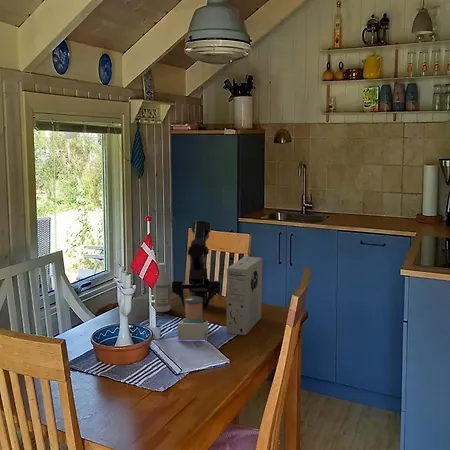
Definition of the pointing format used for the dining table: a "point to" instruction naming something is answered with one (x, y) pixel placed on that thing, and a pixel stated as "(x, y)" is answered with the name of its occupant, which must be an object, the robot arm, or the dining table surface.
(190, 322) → the pusher paddle
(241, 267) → the cereal box
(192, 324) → the pusher lane
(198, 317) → the grey brown rounded piece
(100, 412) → the dining table surface
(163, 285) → the bath foam
